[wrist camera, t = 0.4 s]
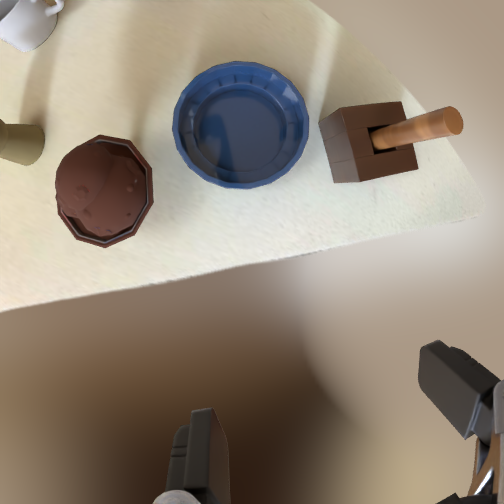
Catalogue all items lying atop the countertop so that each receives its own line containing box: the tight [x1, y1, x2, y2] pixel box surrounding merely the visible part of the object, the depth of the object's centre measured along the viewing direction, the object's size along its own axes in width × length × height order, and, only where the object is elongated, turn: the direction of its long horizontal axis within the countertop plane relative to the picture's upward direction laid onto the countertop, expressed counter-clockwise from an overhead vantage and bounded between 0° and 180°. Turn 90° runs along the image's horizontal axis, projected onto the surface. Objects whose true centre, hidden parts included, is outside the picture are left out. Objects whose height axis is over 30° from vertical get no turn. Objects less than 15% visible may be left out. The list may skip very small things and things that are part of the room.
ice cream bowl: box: [55, 135, 154, 248], centre depth 28 cm, size 11×11×15 cm
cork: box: [0, 119, 45, 165], centre depth 27 cm, size 6×6×11 cm
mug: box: [0, 0, 64, 52], centre depth 23 cm, size 12×8×11 cm
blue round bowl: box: [172, 61, 309, 189], centre depth 32 cm, size 14×14×6 cm
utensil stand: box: [318, 101, 418, 183], centre depth 33 cm, size 8×8×8 cm
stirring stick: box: [369, 106, 463, 151], centre depth 27 cm, size 2×2×20 cm
